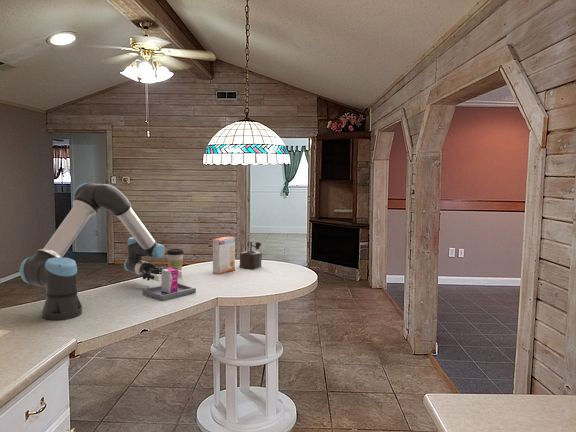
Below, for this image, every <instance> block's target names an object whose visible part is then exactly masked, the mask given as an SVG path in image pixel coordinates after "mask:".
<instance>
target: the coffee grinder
mask: <svg viewBox="0 0 576 432" xmlns="http://www.w3.org/2000/svg"><path fill="white" fill-rule="evenodd" d="M249 243H250V244H249V245H250V248H249V249H247V250H245V251H243V252H239V268H241V269H246V270H247V269H248V270H256V269H259V268H258V267H260V268H261V267H262V257H263V256H262V254H263V253H262V252H259V251H256V250H260V247H261V246H262V242H261V241H259V240H258V241H255V243H254V244H253V241H250V242H249ZM253 248H254V249H255V250H254V249H253ZM255 268H256V269H255Z"/></svg>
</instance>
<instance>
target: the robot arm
mask: <svg viewBox="0 0 576 432" xmlns="http://www.w3.org/2000/svg"><path fill="white" fill-rule="evenodd" d="M72 206H73V207H72V208H71V209H70V210H69V212H68V214H66V216H65V218H64V219H63V220H62V222H61V223H60V224H59V226H58V228H56V231H54V233H53V234H52V235H51V237H50V238H49V240H48V242H47V243H46V244H45V246H44V247H43V248H40V249H37V251H36V252H35V253H34V254H33V255H32V256H29V257H27V258H25V259H24V260H22V262H21V264H20V267H19V276H20V278H21V280H23V282H25V283H26V284H29V285H31V286H34V287H36V286H37V287H41V288H45V291H46V292H45V293H46V298H45V301H44V304H43V307H42V310H41V317H42V318H43V319H44V320H49V321H57V320H58V321H59V320H60V321H61V320H62V321H63V320H68V319H69V320H70V319H72V318H76V317H79V316H80V315H82V314H83V306H82V303H81V301H80V298H79V296H78V266H77V262H76V260H74V259H72V258H69V257H64V256H65V254H66V253H67V252H68V250H69V249H70V247H71V245H72V244H73V243H74V241H75V239H76V238H77V237H78V235H79V234H80V232H81V231H82V229H83V228H84V227H85V225H86V223H87V222H88V221H89V219H90V218H91V217H93V216H94V217H95V216H96V215H97V214H98V212H99V210H100V209H101V210H102V209H103V210H106V211H109V212H110V213H111V214H112V215H113V216H114V217H117V219H118V220H119V221H120V222H121V224H123V226H124V227H125V228H126V230H127V231H128V232H129V234H130V235H131V237H129V238H127V246H126V247H127V259H125V261H124V264H123V268H124V270H125V271H126V272H129V273H131V274H134V275H135V274H136V275H138V276H141V278H142V279H143V280H146V279H147V280H146V281H150V280H152V281H156V282H160V275H162V270H163V269H168V268H170V267H168V266H160V267H158V266H155V264H154V263H153V262H148V261H145V260H143V257H145V258H152V259H161V258H163V256H164V255H165V254H166V253H165V252H166V248H165V246H164V245H163V244H160V243H157V241H156V239H154V238H153V236H152V234H151V233H150V232H149V231H148V229H147V228H146V226H145V225H144V224H143V221H141V219H140V218H139V217H138V215H137V213H135V211H134V210H133V208H132V204H131V201H130V200H129V199H128V198H127V196H125V194H124V193H122V191H120V190H119V189H118V188H117V187H115V186H114V185H112V184H107V183H93V182H87V183H82V184H79V185H78V186H77V187H76V188H75V190H74V191H73V201H72ZM172 269H177V268H175V267H174V268H172ZM178 276H179V277H181V278H182V277H183V271H182V270H181V271H179V270H178Z"/></svg>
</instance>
